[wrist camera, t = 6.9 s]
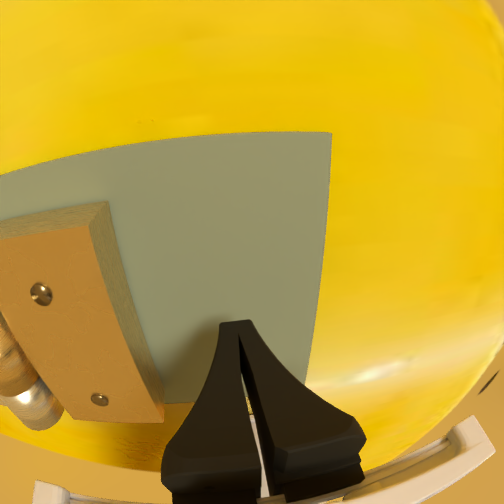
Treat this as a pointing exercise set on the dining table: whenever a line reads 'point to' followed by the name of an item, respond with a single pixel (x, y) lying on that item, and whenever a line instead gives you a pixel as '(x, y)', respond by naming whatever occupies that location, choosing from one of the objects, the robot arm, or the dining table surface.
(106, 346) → the brass leaf
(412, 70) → the dining table surface
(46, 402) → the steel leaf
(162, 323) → the felt mat
